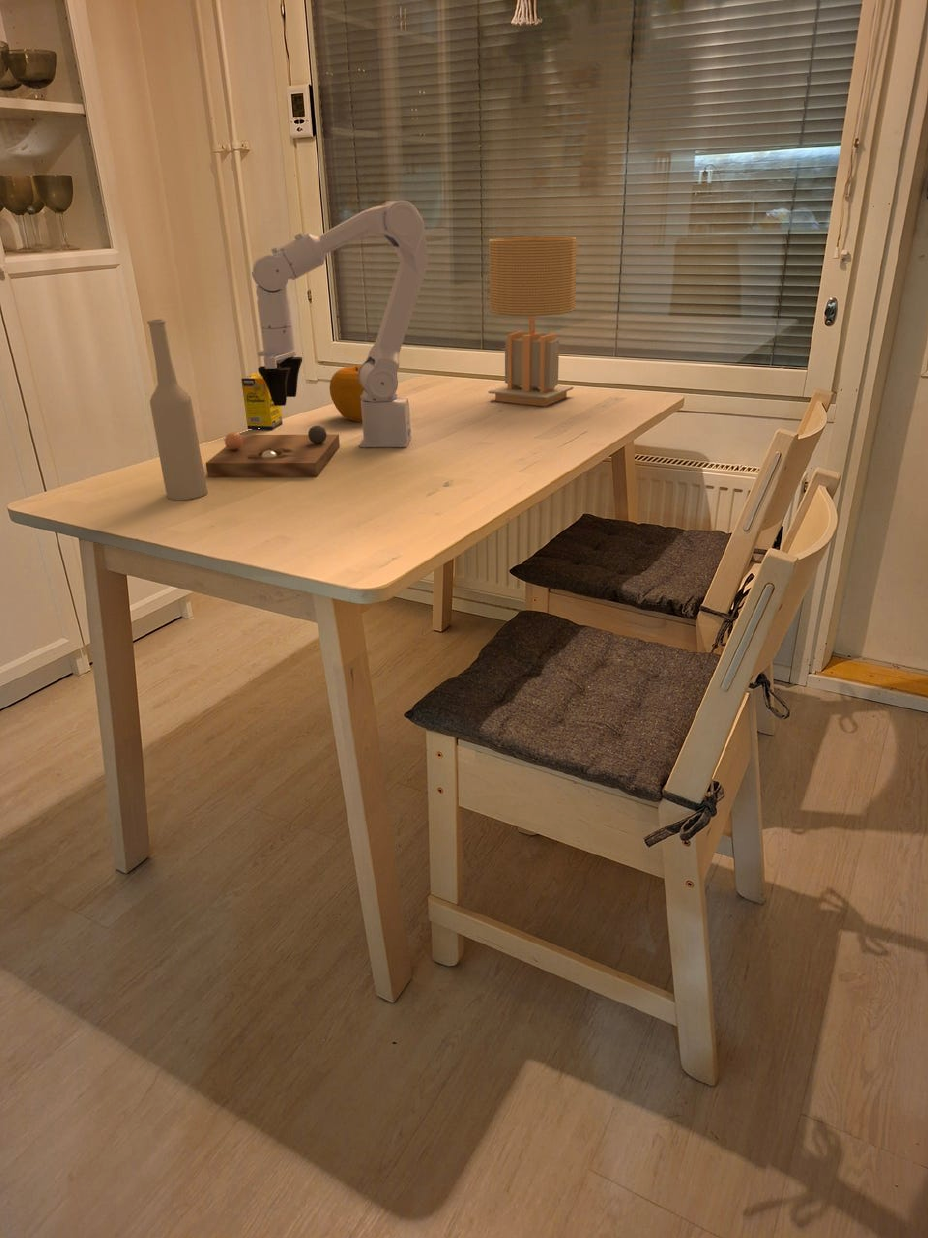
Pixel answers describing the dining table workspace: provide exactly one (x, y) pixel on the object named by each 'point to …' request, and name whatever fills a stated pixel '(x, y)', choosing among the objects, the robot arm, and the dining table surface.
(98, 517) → the dining table surface
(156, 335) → the bottle
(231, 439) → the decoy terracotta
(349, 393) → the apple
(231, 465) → the board
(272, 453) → the steel ball
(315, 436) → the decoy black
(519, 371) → the desk lamp
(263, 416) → the supplement box
